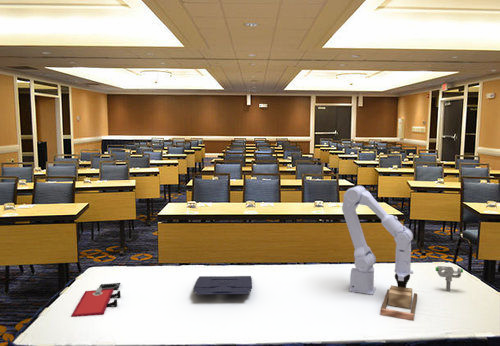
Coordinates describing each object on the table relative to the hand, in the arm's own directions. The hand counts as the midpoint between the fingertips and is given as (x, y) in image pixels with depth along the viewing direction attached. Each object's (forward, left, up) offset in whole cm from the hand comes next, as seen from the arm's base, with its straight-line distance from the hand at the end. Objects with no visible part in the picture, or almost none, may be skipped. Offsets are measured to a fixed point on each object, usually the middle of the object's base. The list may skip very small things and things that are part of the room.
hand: (401, 292), depth 169 cm
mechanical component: (+17, +16, -3) cm, 24 cm away
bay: (0, -8, -2) cm, 8 cm away
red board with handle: (-110, -51, -3) cm, 121 cm away
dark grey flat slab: (-70, -21, -3) cm, 73 cm away
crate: (0, -5, -2) cm, 6 cm away
